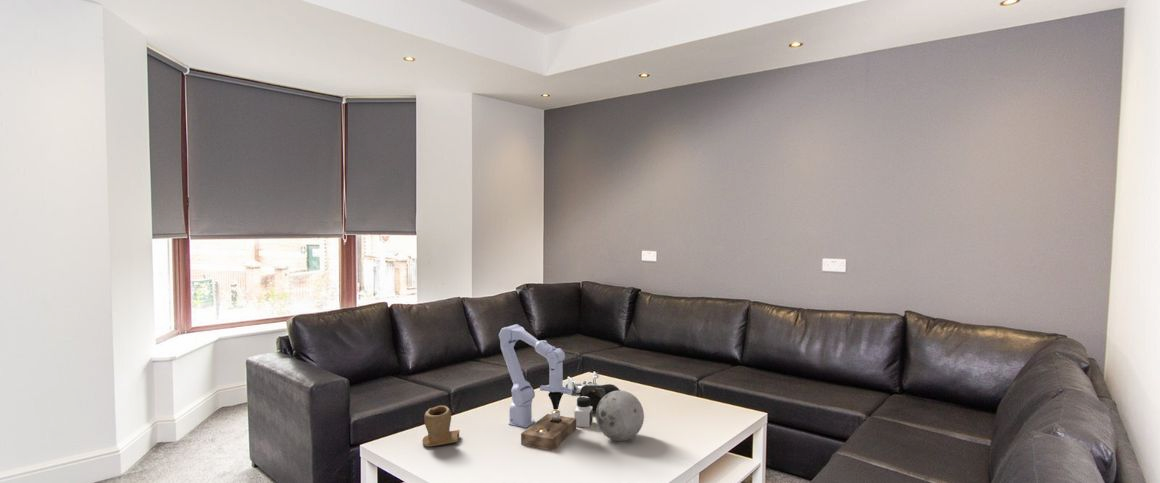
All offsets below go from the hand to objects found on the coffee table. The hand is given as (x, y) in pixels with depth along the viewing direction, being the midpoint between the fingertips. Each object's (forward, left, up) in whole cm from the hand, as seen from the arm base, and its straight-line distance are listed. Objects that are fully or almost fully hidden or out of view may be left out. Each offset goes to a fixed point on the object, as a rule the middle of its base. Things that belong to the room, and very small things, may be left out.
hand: (555, 408), depth 227 cm
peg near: (0, -12, -10) cm, 15 cm away
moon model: (+28, +3, -10) cm, 30 cm away
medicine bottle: (+8, +12, -10) cm, 17 cm away
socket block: (0, -6, -10) cm, 11 cm away
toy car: (-10, +56, -10) cm, 58 cm away
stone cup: (-37, -30, -10) cm, 49 cm away
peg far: (0, 0, -6) cm, 6 cm away
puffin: (+8, +32, -10) cm, 35 cm away
